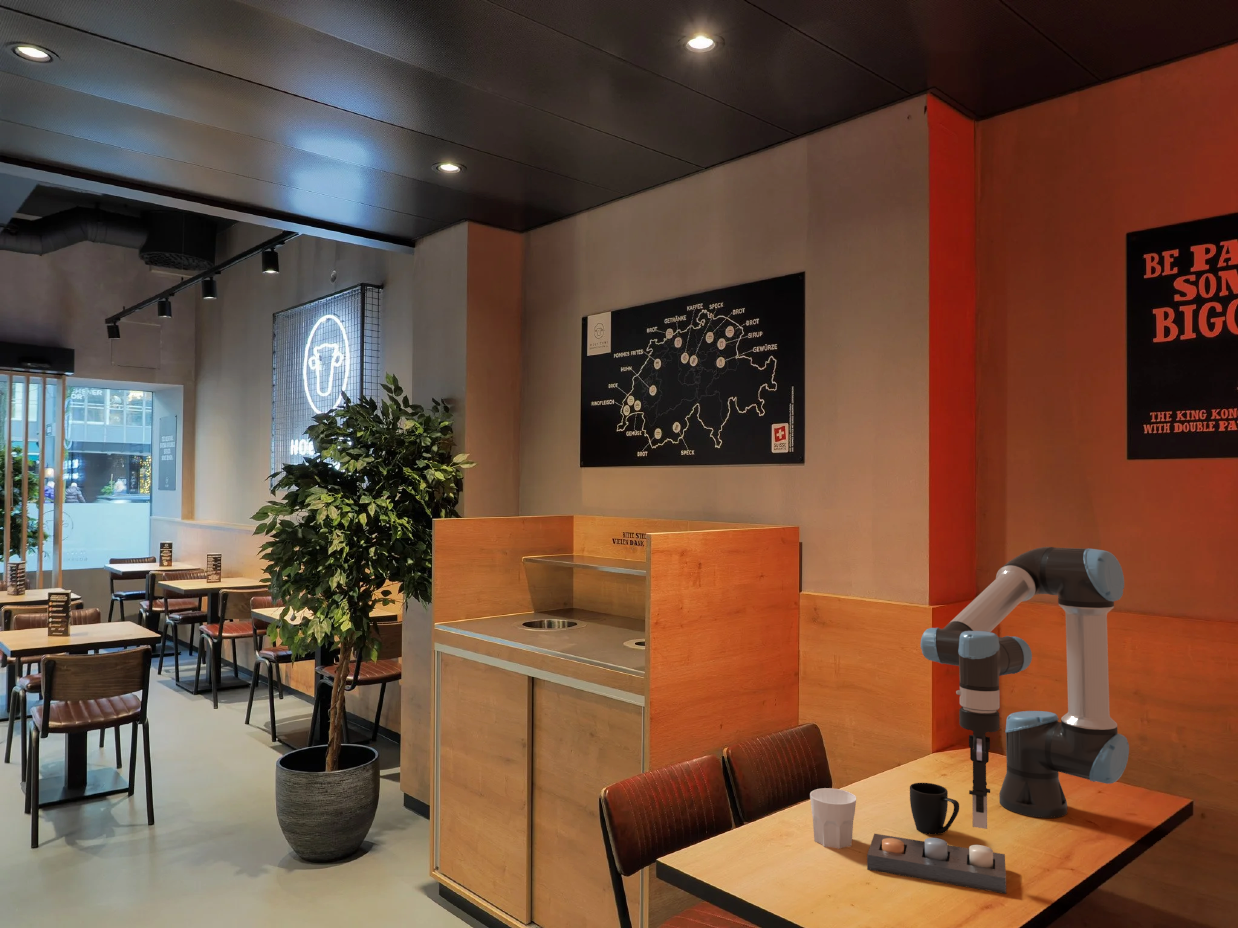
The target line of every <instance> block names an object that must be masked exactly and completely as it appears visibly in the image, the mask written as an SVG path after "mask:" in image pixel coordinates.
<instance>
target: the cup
mask: <svg viewBox="0 0 1238 928" xmlns="http://www.w3.org/2000/svg"><path fill="white" fill-rule="evenodd" d="M809 799H810V807H811V808H810V809H811V815H812V823H813V824H812V827H813V839H814V840H813V841H814V842H815V843H818V844H820V845H822V846H823V847H824V848H834V849H838V850H840V849H842V848H847V847H852V841H853V831H854V829H853V828H854V818H855V814H856V813H855V812H856V804H857V796H856V795H855V794H853V793H852V792H849V791H847V790H844V789H840V788H833V787H832V788H831V787H829V788H826V787H824V788H817V789H814V790H812V791H810V793H809Z"/></svg>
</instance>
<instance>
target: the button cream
mask: <svg viewBox="0 0 1238 928" xmlns="http://www.w3.org/2000/svg"><path fill="white" fill-rule="evenodd" d="M968 848H969V862H970V865H972V866H978V867H984V868H990V869H993V852H994V850H993V848H991V847H988V846H985V845H984V844H983V845H982V844H981V845H980V844H972V845H970V846H969V847H968Z"/></svg>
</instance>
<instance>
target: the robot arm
mask: <svg viewBox="0 0 1238 928" xmlns="http://www.w3.org/2000/svg"><path fill="white" fill-rule="evenodd" d="M1124 589H1125V577H1124V572H1123V568H1122V565H1121V564H1120V562H1119V560H1118V559H1117V557H1116V556H1115V555H1114V554H1113V553H1112V552H1110V551H1107V550H1103V549H1097V548H1091V547H1090V548H1083V547H1082V548H1078V547H1077V548H1075V547H1054V546H1043V547H1037V548H1033V549H1030V550H1028V551H1025V552H1023V553H1021V554H1019V555H1016V557H1014V558H1012V559H1011V560H1009V561H1008V562H1007V563H1005V564H1003V565H1002V567H1000V568H999V569H998V571H997V572H996V576H995V579H994V580H993V581H992V582H991V583H990V584H988V586H987V587H986V588H985V589H983V591H981V592H980V593H979V594H978V595H977V596H976V597H974V599H973V600H972V601H971V602H970V603H968V604H967V606H966V607H964V608H963V609H962V610H961V611H960V612H959V613H958V614H957V615H956V616H955V617H954V618H953V619H952V620H950V622H948V623H947V624H946V625H945V626H944V627H942V628H940V627H930V628H926V630H924V632H923V633H922V635H921V639H920V649H921V653H922V655H923V657H924V658H925V659H927V660H928V661H931V662H935V663H939V664H941V665H950V666H956V667H958V668H959V673H958V674H959V675H958V676H959V683H958V684H959V689H958V690H956V691H955V693H956V695H957V696H959V705H960V706H961V707H960V708H959V709H958V710H959V716H958V717H959V721H958V722H959V723H958V724H959V726H960V727H961V728H962V729H965V730H968V731H972V734H969V735H968V747H969V748H970V749H969V753H970V755H969V756H970V757H969V759H970V761H971V762H972V790H970V789H969V792H968V795H971V796H972V827H973V828H978V829H985V830H987V829H988V794H991V789H990V788H987V785H988V782H987V764H988V763H989V762H990V759H989V758H990V757H989V755H990V754H989V752H990V749H991V740H990V739H991V738H990V736H987V735H986V733H995V732H997V731H999V730H1000V712H999V711H998V710H999V709H1000V703H1001V702H1000V701H1001V700H1000V692H1001V691H1000V676H1001V677H1002V676H1006V675H1015V674H1018V673H1020V672H1021V671H1025V670H1026V669H1028V667H1029V666H1030V665H1031V663H1032V660H1033V653H1032V650H1031V647H1030V645H1029V644H1028V643H1027V641H1025V640H1024V639H1023V638H1020V637H1019V636H1010V635H1005V636H1002V637H1001V636H998V635H997V634H996V633H994V632H992V631H993V630H994V629H995V628H996V627H997V626H998V625H999V624H1001V622H1003V620H1004V619H1005V618H1006V617H1007V616H1009V614H1010V613H1011V612H1013V610H1015V608H1016V607H1017V606H1019V604H1020V603H1021V602H1027V601H1029V600H1031V599H1032V598H1033V597H1034V596H1036V595H1050V596H1051V595H1052V596H1057V603H1058V606H1059V607H1060V608H1062V610H1063V611H1064V612H1065V638H1066V639H1065V641H1066V642H1065V645H1066V646H1065V647H1066V676H1067V677H1066V678H1067V681H1066V682H1067V713H1065V714H1064V715H1063V716H1061V722H1060V721H1059V719H1060V718H1059V716H1058V714H1056V713H1055V712H1051V711H1042V710H1025V711H1024V710H1023V711H1016V712H1012V713H1010V714H1009V715H1007V717H1006V723H1005V731H1004V732H1005V748H1006V749H1005V752H1006V755H1005V756H1006V757H1005V758H1006V774H1005V776H1004V779H1003V781H1002V784H1001V788H1000V791H999V804H1000V805H1001V806H1002V807H1003V808H1005V809H1007V810H1009V811H1011V812H1013V813H1017V814H1019V815H1023V816H1028V817H1034V818H1043V819H1047V818H1049V819H1050V818H1051V819H1054V818H1056V819H1057V818H1061V817H1064V816H1066V815H1067V813H1068V802H1067V799H1066V795H1065V793H1064V790H1063V787H1062V785H1061V781H1060V779H1059V778H1060V777H1059V776H1060V775H1059V774H1060V773H1062V774H1065V775H1070V776H1074V777H1078V778H1081V779H1086V780H1088V781H1090V782H1093V783H1096V782H1097V783H1102V784H1109V785H1110V784H1114V783H1116V782H1117V781H1118V780H1119V779H1120V778H1121V777H1122V775H1123V774H1124V771H1125V770H1126V767H1127V764H1128V760H1129V753H1130V744H1129V742H1128V739H1127V738H1128V737H1126V736H1125V735H1123V734H1122V733H1118V723H1117V722H1116V721H1115V720H1114V719H1113V718H1112V717H1111V715H1110V687H1109V686H1110V685H1109V683H1110V682H1109V652H1108V651H1109V650H1108V649H1109V646H1108V644H1109V643H1108V617H1107V616H1108V613H1109V612H1111V611H1112V610H1113V609H1114V608H1115V601H1119V600H1121V598H1122V597H1123V594H1124Z"/></svg>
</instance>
